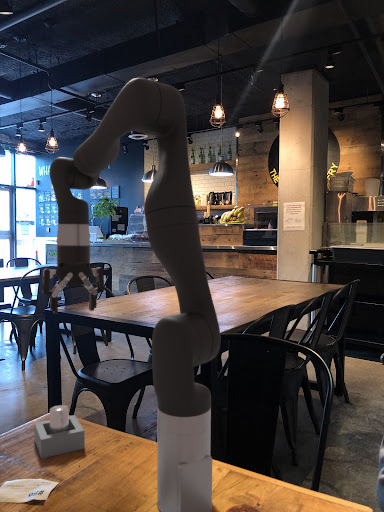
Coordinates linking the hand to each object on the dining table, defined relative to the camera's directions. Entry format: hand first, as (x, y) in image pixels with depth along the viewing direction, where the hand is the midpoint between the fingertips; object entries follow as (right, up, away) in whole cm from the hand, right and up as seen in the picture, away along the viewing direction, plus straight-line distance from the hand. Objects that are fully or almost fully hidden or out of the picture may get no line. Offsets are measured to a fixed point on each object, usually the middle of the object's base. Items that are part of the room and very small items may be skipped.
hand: (73, 311), depth 101 cm
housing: (-1, -29, -7) cm, 29 cm away
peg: (-1, -29, -7) cm, 29 cm away
